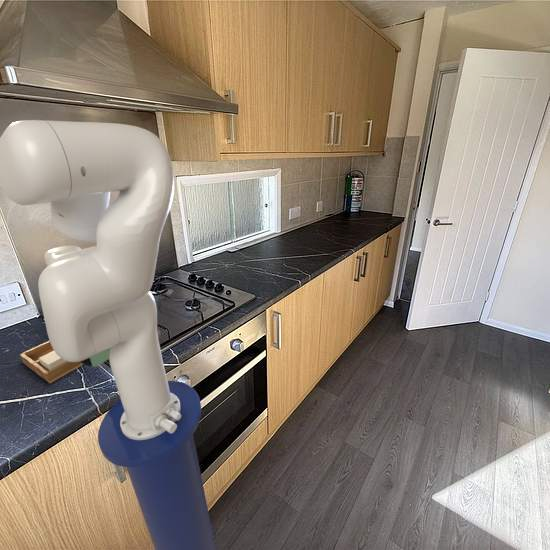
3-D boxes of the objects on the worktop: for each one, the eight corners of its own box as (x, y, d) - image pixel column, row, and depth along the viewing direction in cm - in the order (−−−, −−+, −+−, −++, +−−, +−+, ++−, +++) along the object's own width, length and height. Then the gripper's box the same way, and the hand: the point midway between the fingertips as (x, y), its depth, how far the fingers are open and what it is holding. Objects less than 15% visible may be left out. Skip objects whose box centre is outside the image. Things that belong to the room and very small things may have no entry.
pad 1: (74, 363, 81) (70, 352, 80) (52, 375, 77) (48, 364, 76) (64, 357, 84) (60, 346, 83) (43, 368, 80) (38, 358, 78)
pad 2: (115, 355, 79) (111, 344, 78) (95, 367, 75) (90, 355, 74) (104, 349, 82) (100, 338, 81) (83, 361, 78) (79, 349, 76)
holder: (83, 364, 82) (80, 355, 81) (50, 383, 76) (46, 374, 74) (55, 347, 90) (52, 338, 89) (23, 363, 83) (19, 354, 82)
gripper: (45, 315, 63) (72, 382, 70) (120, 285, 76) (136, 343, 83) (30, 308, 67) (57, 372, 74) (104, 281, 80) (121, 337, 87)
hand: (99, 356), depth 78 cm, fingers closed on pad 2, 5 cm apart
